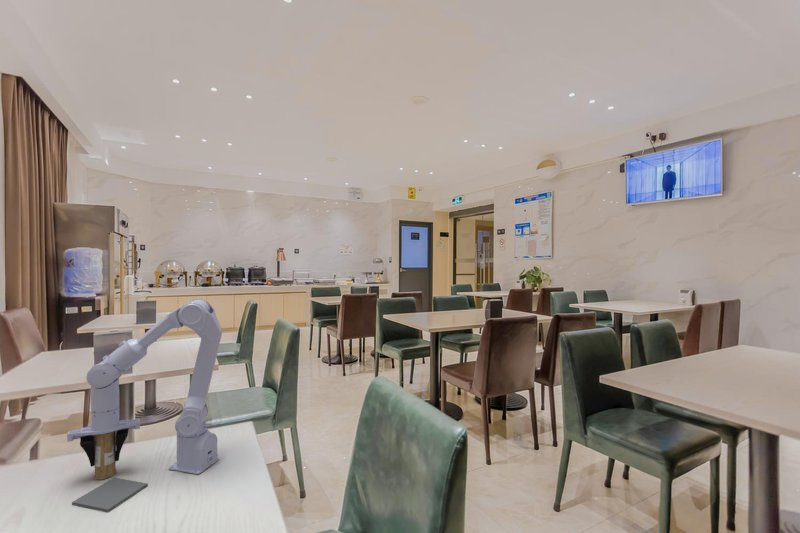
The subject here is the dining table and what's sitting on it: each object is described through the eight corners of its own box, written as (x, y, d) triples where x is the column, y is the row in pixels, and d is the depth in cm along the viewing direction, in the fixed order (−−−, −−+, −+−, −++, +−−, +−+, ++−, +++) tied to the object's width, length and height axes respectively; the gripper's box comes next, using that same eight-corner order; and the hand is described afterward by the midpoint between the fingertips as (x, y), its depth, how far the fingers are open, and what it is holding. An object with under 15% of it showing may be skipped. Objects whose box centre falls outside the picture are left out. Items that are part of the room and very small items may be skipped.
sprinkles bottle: (115, 476, 97) (115, 424, 97) (92, 482, 95) (92, 428, 94) (116, 468, 101) (116, 417, 101) (94, 473, 99) (94, 421, 98)
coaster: (147, 485, 94) (147, 483, 94) (108, 512, 84) (108, 509, 84) (114, 479, 96) (114, 477, 96) (72, 504, 86) (72, 502, 86)
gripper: (140, 398, 105) (140, 447, 105) (70, 408, 97) (71, 462, 97) (139, 407, 99) (139, 459, 99) (65, 419, 91) (65, 475, 91)
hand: (105, 461), depth 98 cm, fingers closed on sprinkles bottle, 4 cm apart
